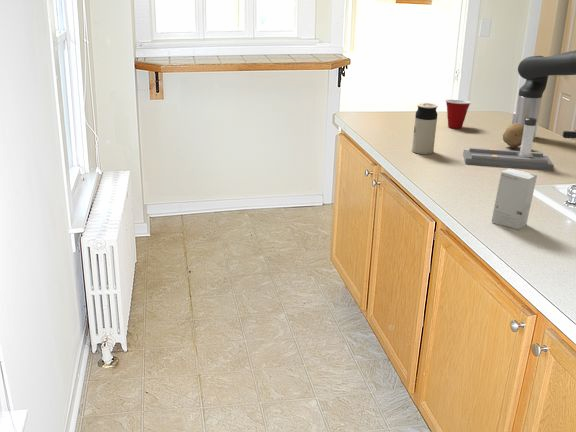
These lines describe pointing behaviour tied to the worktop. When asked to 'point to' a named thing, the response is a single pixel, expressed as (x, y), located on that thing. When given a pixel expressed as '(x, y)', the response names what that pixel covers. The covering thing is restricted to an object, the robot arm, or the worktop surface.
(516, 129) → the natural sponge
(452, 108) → the plastic cup
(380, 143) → the worktop surface
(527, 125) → the fader lever
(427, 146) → the travel mug
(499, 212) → the skincare box
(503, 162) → the slider board
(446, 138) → the worktop surface
